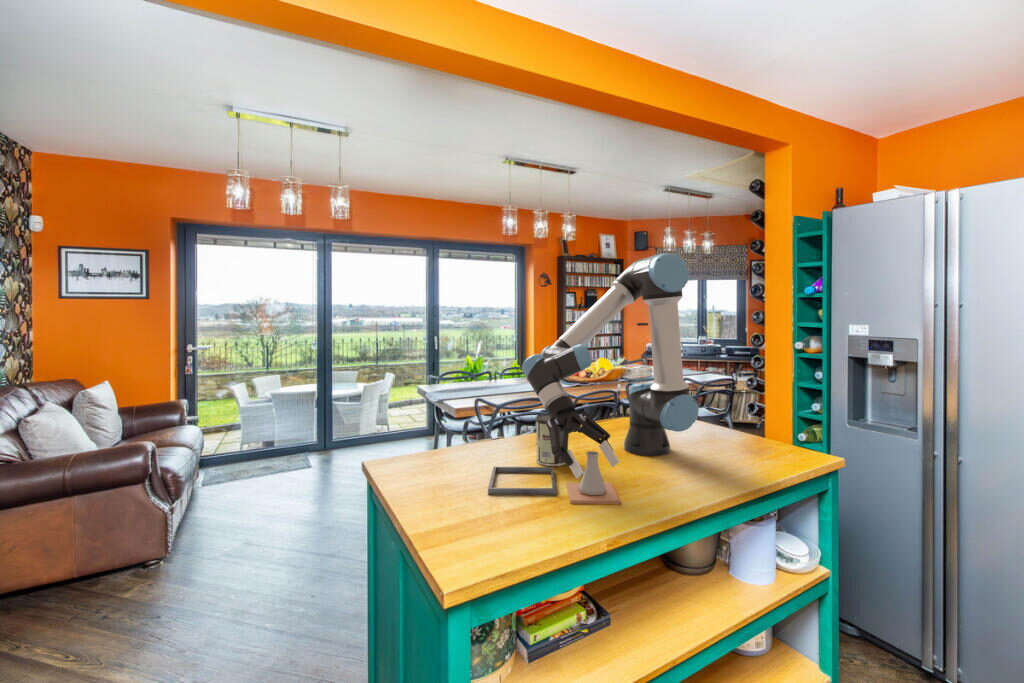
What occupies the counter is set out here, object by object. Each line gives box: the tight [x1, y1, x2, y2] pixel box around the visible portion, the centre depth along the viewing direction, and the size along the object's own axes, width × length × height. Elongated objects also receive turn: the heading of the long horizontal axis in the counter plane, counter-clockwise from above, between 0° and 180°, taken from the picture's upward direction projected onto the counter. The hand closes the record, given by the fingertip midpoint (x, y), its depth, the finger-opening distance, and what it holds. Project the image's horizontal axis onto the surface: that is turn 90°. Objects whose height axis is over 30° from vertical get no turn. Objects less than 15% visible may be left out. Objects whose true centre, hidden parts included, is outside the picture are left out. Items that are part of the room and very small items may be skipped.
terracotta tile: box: [566, 482, 621, 505], centre depth 117 cm, size 12×12×1 cm
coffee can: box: [535, 414, 569, 467], centre depth 144 cm, size 10×10×14 cm
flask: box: [578, 450, 606, 495], centre depth 117 cm, size 7×7×10 cm
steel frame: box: [487, 466, 557, 496], centre depth 126 cm, size 18×18×2 cm
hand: (598, 469), depth 115 cm, fingers open, 13 cm apart
